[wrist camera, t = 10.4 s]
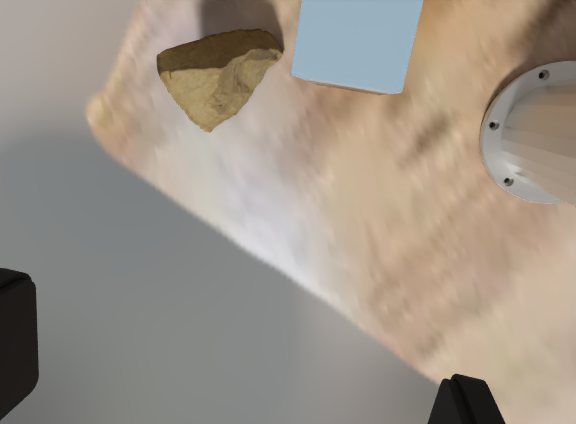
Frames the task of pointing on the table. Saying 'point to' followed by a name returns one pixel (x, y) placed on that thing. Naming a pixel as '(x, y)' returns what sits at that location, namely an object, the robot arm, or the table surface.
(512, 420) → the table surface
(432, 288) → the table surface
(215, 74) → the rock
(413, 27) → the blue block
